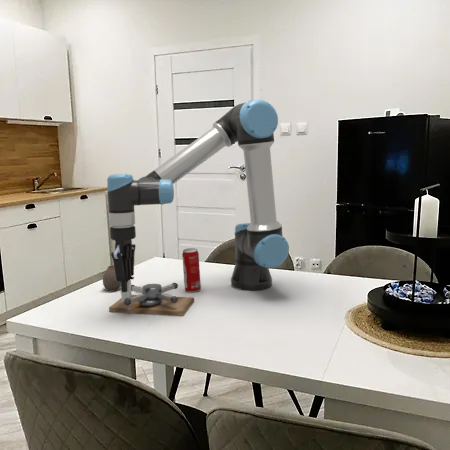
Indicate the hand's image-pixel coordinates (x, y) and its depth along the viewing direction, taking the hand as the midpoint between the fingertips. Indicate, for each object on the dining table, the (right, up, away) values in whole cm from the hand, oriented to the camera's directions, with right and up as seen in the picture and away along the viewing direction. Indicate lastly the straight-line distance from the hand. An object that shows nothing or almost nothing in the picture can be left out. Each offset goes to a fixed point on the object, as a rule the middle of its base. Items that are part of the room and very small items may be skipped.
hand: (126, 300), depth 140 cm
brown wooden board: (+7, -3, +6) cm, 10 cm away
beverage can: (+19, 0, +22) cm, 29 cm away
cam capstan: (+7, -1, +5) cm, 9 cm away
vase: (-10, 0, +25) cm, 27 cm away
